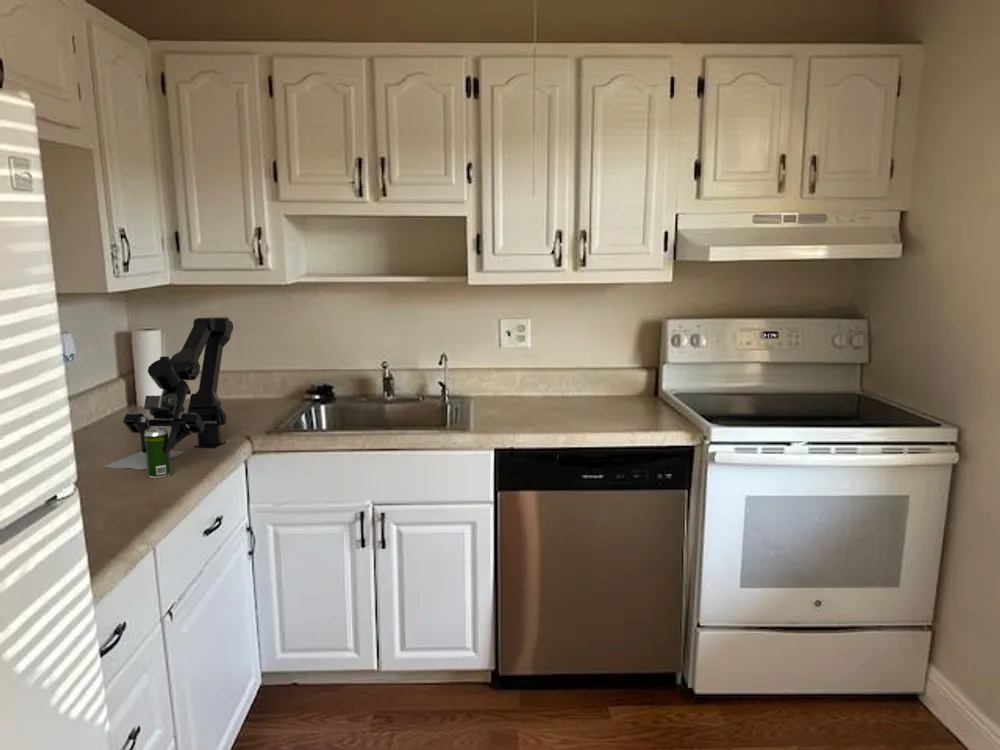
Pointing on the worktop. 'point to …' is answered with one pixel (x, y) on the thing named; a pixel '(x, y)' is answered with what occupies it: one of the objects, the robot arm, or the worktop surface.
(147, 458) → the beer can
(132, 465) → the grey mat
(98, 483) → the worktop surface
